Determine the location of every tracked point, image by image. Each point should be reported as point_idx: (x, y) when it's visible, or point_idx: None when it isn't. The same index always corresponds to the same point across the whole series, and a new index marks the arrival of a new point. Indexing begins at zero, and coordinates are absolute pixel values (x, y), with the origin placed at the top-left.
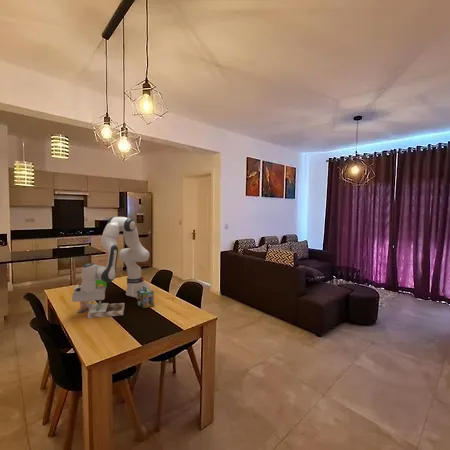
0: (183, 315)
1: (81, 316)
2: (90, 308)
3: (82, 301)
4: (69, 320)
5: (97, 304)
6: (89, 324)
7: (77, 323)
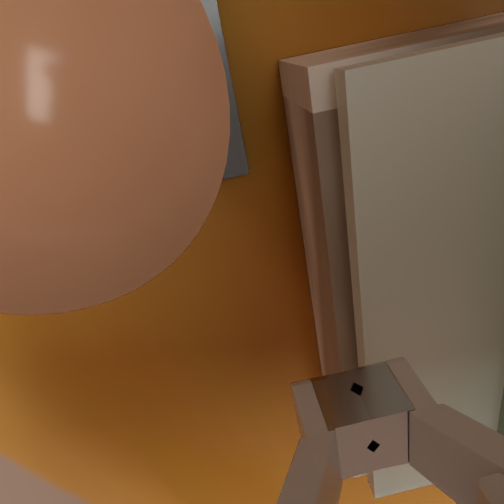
0: None
1: (196, 342)
2: (365, 363)
3: (24, 294)
4: (90, 454)
5: (499, 111)
6: (384, 498)
7: (243, 497)
